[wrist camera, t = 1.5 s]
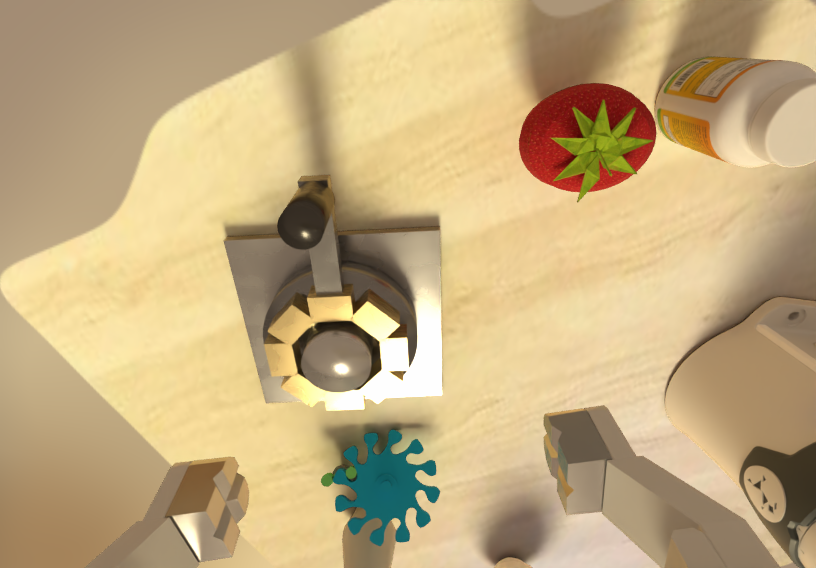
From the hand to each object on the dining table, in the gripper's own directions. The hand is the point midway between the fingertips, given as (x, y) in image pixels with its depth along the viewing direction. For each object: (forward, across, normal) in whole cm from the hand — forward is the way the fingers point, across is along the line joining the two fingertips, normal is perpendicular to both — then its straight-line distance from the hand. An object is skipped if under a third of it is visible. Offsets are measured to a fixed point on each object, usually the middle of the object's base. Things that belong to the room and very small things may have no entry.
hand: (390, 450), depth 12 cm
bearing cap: (+24, +6, +10) cm, 26 cm away
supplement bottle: (+23, -21, -3) cm, 31 cm away
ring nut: (+20, +5, +7) cm, 22 cm away
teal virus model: (+24, +5, +27) cm, 36 cm away
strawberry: (+24, -12, -3) cm, 26 cm away
